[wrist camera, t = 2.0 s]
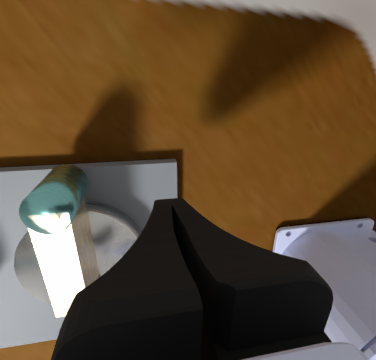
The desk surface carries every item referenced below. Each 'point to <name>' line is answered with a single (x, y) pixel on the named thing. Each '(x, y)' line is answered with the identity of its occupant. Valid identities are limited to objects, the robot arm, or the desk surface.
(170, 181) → the stand board
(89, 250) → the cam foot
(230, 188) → the desk surface
